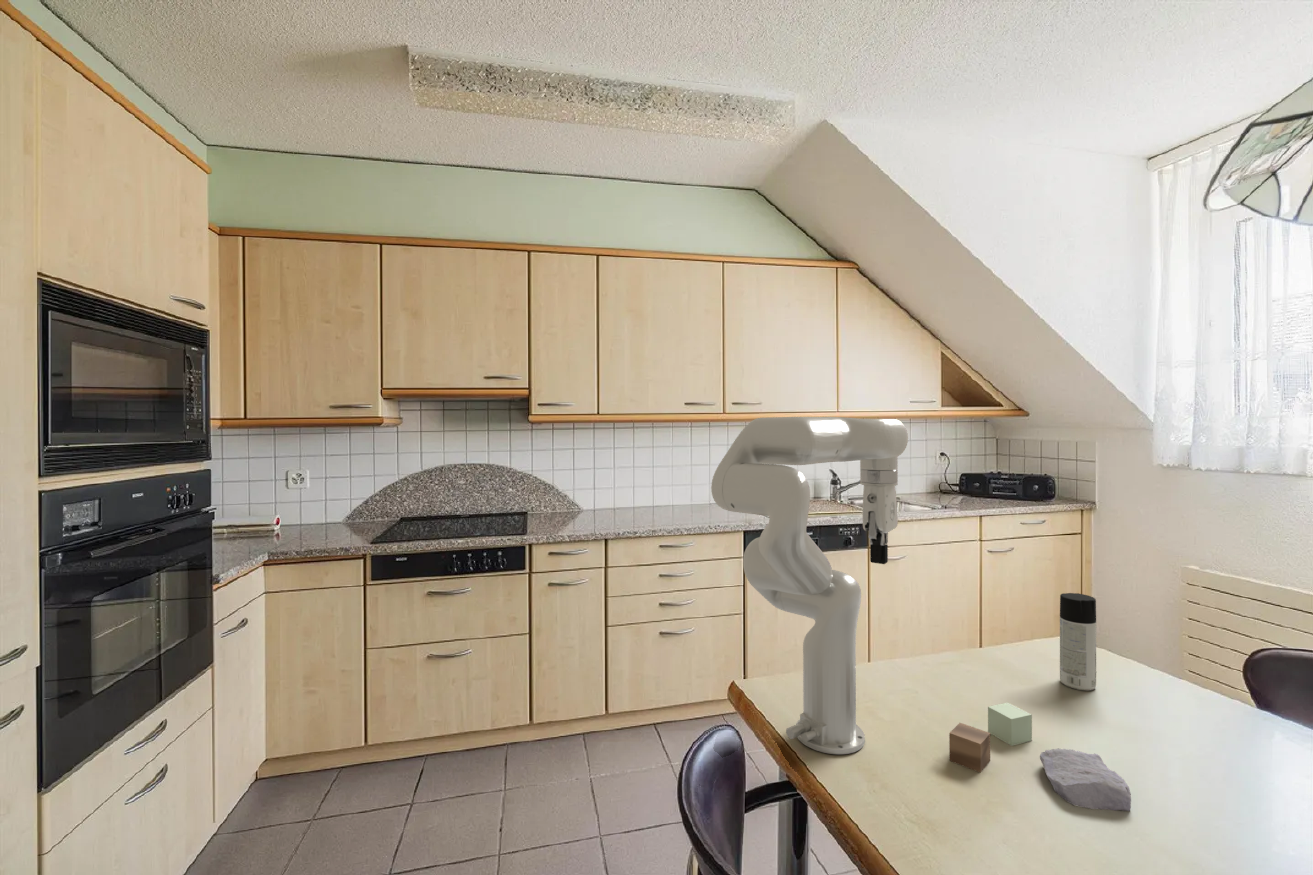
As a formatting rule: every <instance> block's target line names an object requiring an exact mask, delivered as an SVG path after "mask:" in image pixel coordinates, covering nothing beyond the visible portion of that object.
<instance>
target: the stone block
mask: <svg viewBox="0 0 1313 875" xmlns="http://www.w3.org/2000/svg"><path fill="white" fill-rule="evenodd" d="M1039 759H1040V762H1041V764H1042V767H1043V769H1044V772H1045V774H1046V776H1047V779H1048V780H1049V781H1050V784H1051V785H1052V787H1053V790H1054V792H1055V793H1056V794H1057V795H1058V796H1059V797H1061V799H1062V798H1063V799H1064V800H1065V801H1066V802H1068V803H1069V804H1071V805H1072V806H1076V807H1081V808H1086V809H1091V810H1111V811H1124V812H1125V811H1126V812H1129V811H1131V808H1132V797H1131V795H1132V793H1131V791H1130V790H1131V789H1130V787H1129V785H1128V783H1126V780H1125V779H1124V778H1123V777H1122V776H1120V775H1119V774H1118V773H1117V772H1116V771H1115V770H1114V771H1113V770H1112V769H1109V767H1108V766H1107V764H1105V763H1104V761H1103V759H1102V756H1100V755H1099V754H1098V753H1087V752H1083V751H1079V750H1074V749H1068V748H1055V749H1054V748H1052V749H1045V750H1044V751H1042V752H1040V755H1039Z"/></svg>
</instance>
